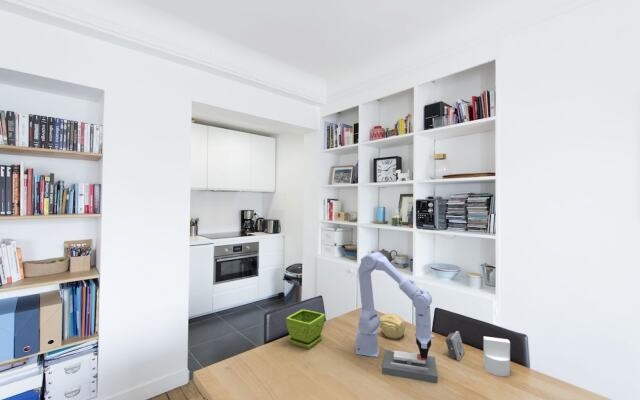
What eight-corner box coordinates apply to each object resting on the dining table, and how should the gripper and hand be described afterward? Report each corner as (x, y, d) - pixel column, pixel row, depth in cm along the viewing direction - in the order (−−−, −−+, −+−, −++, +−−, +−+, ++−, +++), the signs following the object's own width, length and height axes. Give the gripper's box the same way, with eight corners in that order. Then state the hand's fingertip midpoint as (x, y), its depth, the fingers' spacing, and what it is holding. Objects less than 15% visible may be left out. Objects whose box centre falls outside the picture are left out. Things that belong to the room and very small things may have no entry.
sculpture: (377, 337, 145) (377, 315, 145) (386, 328, 155) (386, 307, 155) (400, 343, 139) (400, 320, 139) (408, 334, 149) (408, 312, 149)
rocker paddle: (393, 359, 118) (393, 356, 118) (394, 352, 123) (394, 350, 123) (425, 363, 115) (425, 360, 115) (424, 357, 119) (424, 354, 119)
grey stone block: (459, 362, 123) (457, 339, 124) (446, 359, 126) (444, 336, 127) (465, 352, 131) (462, 331, 131) (452, 350, 134) (450, 329, 134)
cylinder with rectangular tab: (506, 365, 120) (506, 336, 120) (512, 378, 112) (512, 346, 112) (481, 361, 123) (481, 333, 123) (485, 373, 115) (485, 343, 115)
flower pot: (326, 340, 143) (326, 313, 142) (309, 353, 131) (309, 324, 131) (302, 333, 150) (302, 308, 150) (284, 344, 138) (284, 317, 138)
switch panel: (382, 373, 115) (382, 361, 115) (385, 355, 128) (385, 344, 128) (437, 383, 109) (437, 370, 109) (434, 362, 123) (434, 351, 123)
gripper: (435, 332, 109) (436, 369, 109) (432, 317, 123) (433, 350, 123) (415, 330, 111) (416, 366, 111) (414, 316, 125) (415, 348, 125)
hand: (423, 358), depth 117 cm, fingers closed, pressing on rocker paddle
